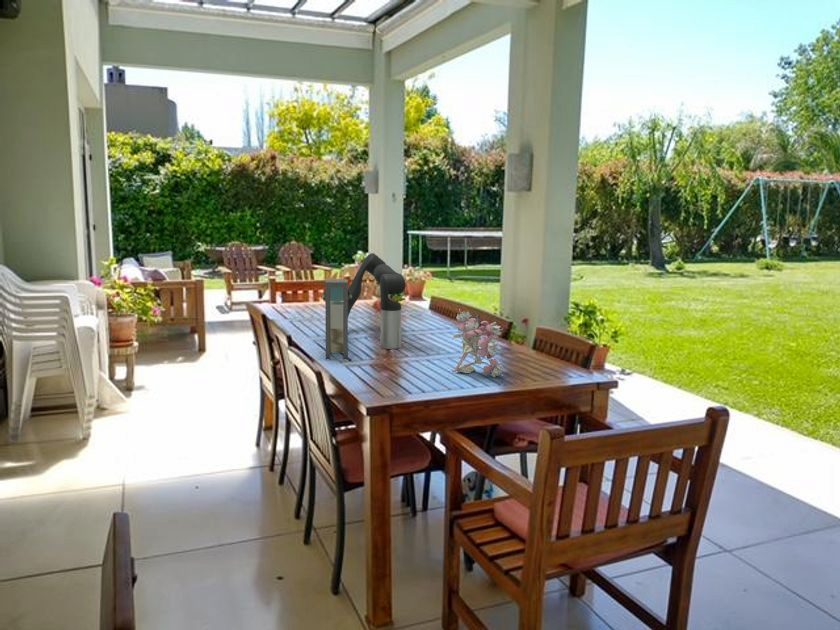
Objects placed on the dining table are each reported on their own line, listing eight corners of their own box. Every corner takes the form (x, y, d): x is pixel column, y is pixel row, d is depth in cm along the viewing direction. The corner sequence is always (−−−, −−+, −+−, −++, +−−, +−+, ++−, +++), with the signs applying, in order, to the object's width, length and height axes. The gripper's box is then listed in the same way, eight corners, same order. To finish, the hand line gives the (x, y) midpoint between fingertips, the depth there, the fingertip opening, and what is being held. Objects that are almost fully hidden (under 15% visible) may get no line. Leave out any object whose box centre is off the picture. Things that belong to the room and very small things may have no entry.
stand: (347, 353, 280) (347, 279, 275) (347, 359, 269) (347, 282, 264) (326, 353, 279) (326, 279, 274) (325, 359, 268) (325, 282, 263)
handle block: (344, 294, 299) (344, 281, 298) (345, 300, 279) (345, 287, 278) (329, 294, 299) (329, 281, 298) (328, 300, 278) (328, 287, 277)
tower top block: (346, 323, 293) (346, 300, 291) (346, 328, 281) (346, 304, 279) (328, 323, 292) (328, 300, 290) (327, 328, 280) (327, 304, 278)
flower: (455, 380, 232) (487, 318, 230) (429, 360, 252) (459, 303, 250) (497, 398, 241) (528, 338, 240) (469, 378, 261) (497, 322, 260)
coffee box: (465, 348, 294) (466, 313, 292) (479, 349, 293) (480, 314, 290) (462, 353, 285) (463, 316, 283) (476, 353, 284) (477, 317, 281)
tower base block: (346, 346, 294) (346, 323, 293) (346, 352, 282) (346, 328, 281) (328, 346, 293) (328, 323, 292) (327, 352, 281) (327, 328, 280)
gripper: (322, 295, 309) (321, 281, 293) (352, 295, 311) (352, 281, 295) (322, 310, 307) (321, 296, 291) (352, 310, 309) (352, 296, 293)
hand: (337, 288), depth 293 cm, fingers closed on handle block, 3 cm apart
